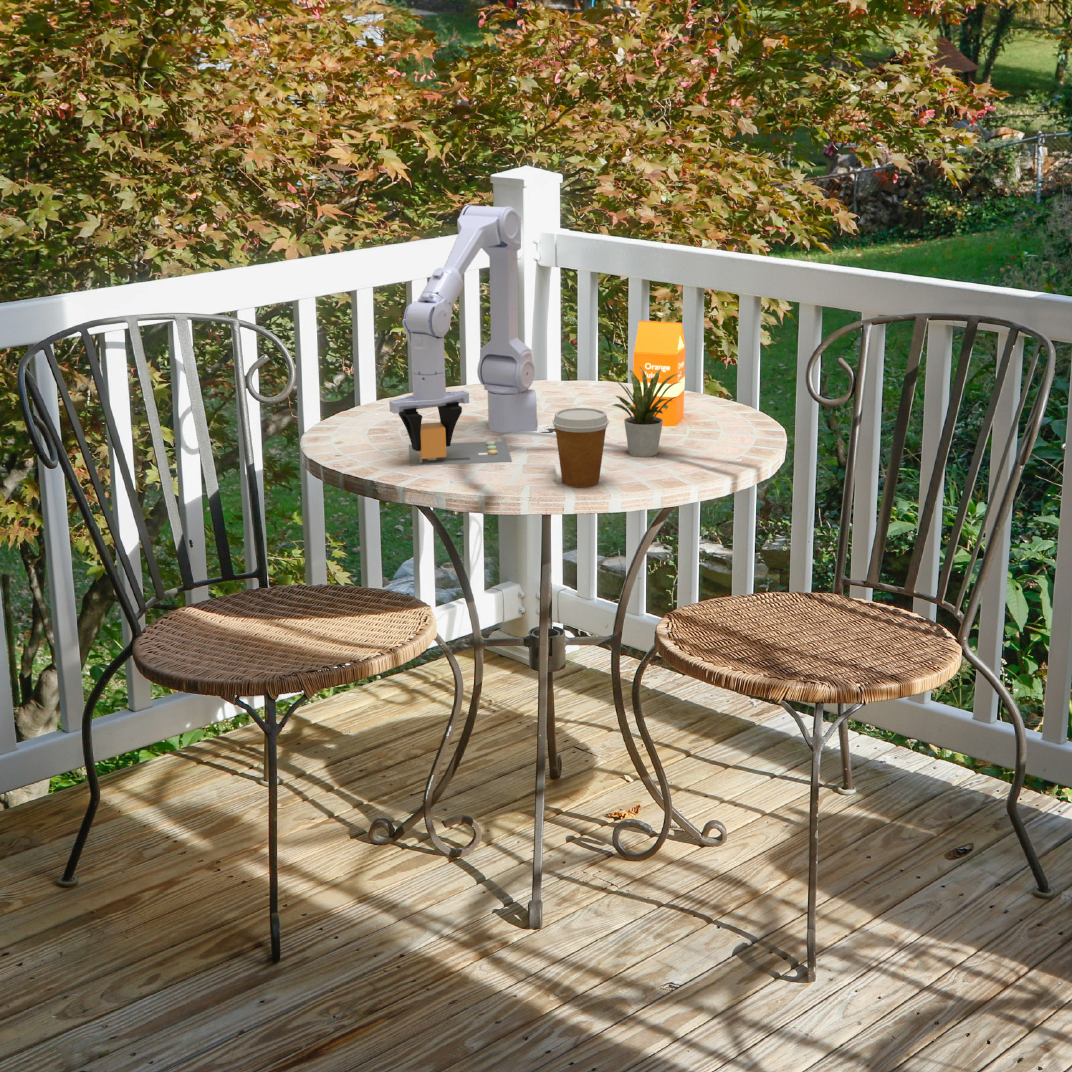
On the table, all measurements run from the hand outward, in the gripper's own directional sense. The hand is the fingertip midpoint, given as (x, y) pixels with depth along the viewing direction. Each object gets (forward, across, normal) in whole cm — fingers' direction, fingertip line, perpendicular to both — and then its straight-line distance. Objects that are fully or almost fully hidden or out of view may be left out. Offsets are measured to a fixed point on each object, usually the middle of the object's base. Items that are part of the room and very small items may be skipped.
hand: (431, 447), depth 231 cm
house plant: (+4, -38, +13) cm, 40 cm away
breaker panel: (+4, -6, -2) cm, 7 cm away
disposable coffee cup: (+4, -18, +21) cm, 28 cm away
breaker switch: (+2, 0, 0) cm, 2 cm away
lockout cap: (+1, 0, 0) cm, 1 cm away
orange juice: (+4, -54, -6) cm, 54 cm away
